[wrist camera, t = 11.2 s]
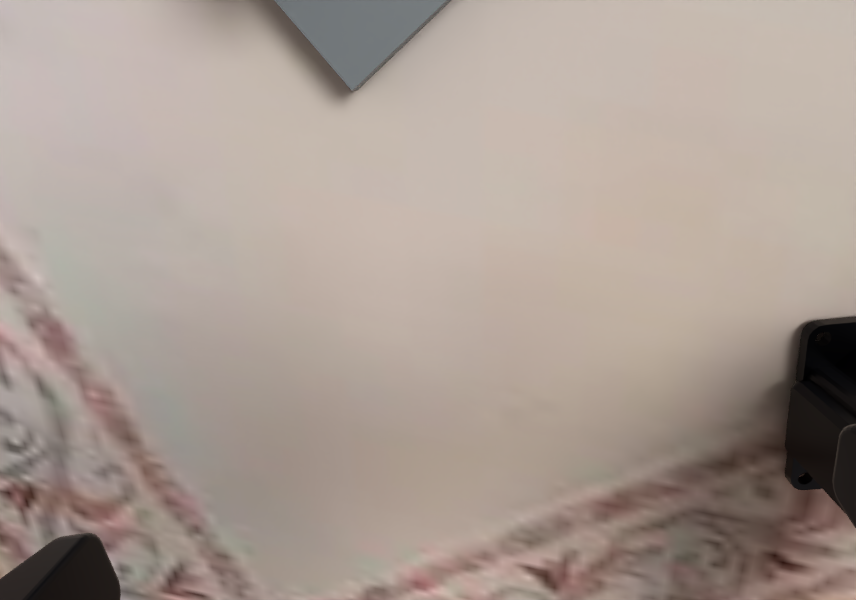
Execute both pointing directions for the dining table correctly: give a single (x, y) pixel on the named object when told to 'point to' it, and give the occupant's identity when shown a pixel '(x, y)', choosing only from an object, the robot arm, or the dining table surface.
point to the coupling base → (359, 30)
